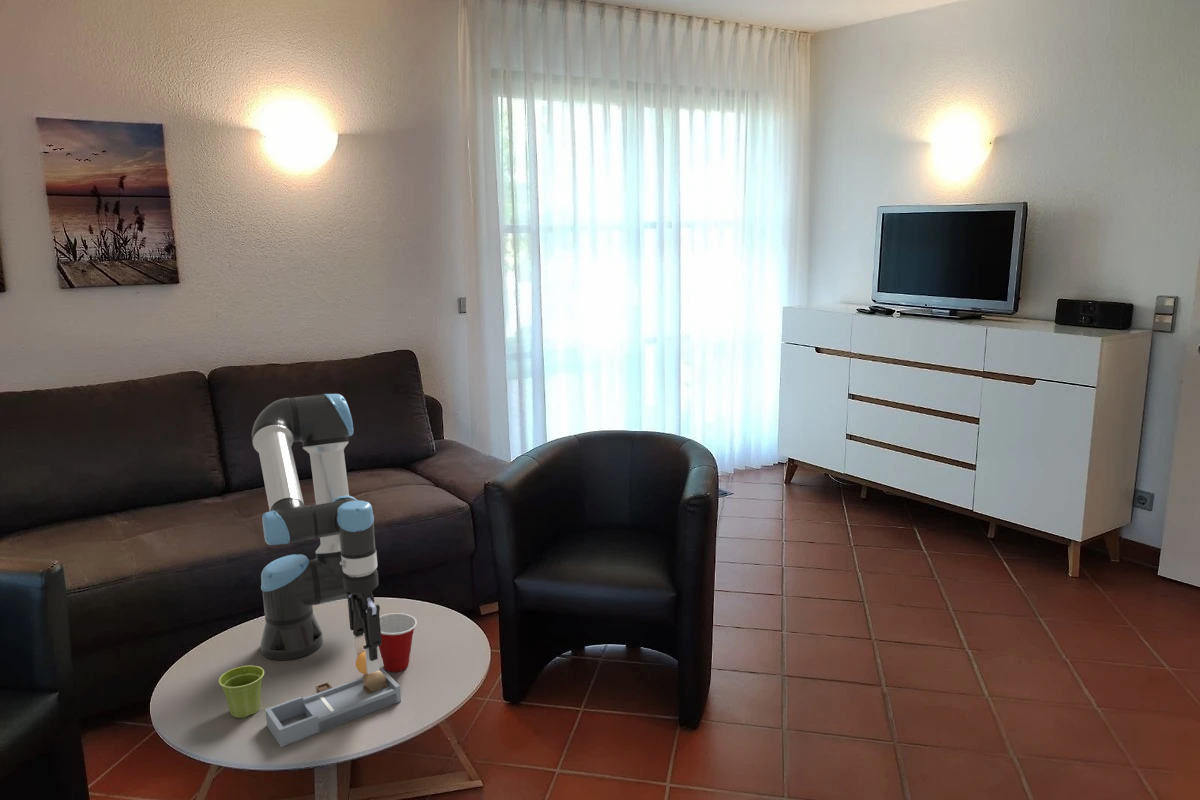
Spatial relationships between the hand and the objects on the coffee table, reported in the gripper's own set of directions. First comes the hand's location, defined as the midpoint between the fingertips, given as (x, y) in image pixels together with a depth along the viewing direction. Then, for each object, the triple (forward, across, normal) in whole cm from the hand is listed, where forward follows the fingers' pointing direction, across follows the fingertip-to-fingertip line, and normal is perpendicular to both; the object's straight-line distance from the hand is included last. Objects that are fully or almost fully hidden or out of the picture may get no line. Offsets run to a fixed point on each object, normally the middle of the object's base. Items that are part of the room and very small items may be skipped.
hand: (368, 666), depth 190 cm
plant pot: (+9, -14, -24) cm, 29 cm away
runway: (+9, 0, -8) cm, 12 cm away
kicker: (+6, 0, +1) cm, 6 cm away
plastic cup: (+9, -10, +11) cm, 18 cm away
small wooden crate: (+9, -8, -8) cm, 14 cm away
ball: (-1, 0, 0) cm, 1 cm away
